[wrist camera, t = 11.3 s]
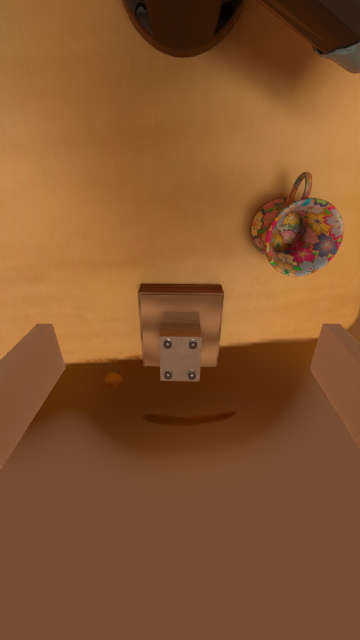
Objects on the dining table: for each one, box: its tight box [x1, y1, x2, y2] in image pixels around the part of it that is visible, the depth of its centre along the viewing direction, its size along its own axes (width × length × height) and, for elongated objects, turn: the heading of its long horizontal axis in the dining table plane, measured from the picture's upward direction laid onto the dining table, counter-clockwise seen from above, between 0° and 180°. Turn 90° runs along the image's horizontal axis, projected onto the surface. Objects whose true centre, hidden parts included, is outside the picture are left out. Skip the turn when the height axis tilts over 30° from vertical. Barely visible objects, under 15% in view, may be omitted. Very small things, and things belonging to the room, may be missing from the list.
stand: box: [138, 284, 224, 367], centre depth 47 cm, size 15×14×4 cm
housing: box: [159, 312, 202, 381], centre depth 41 cm, size 8×6×8 cm
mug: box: [251, 172, 343, 276], centre depth 36 cm, size 12×9×11 cm
